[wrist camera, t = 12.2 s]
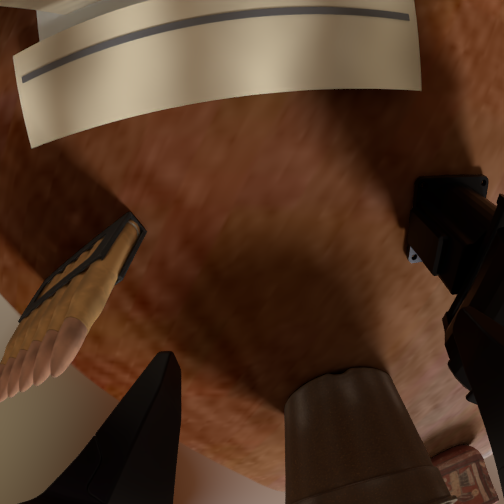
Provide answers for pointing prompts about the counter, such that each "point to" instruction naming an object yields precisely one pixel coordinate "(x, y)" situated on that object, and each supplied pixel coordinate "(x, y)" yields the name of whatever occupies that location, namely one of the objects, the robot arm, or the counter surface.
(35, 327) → the ammunition clip
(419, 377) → the counter surface
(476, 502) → the pottery
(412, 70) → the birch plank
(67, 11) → the maple block
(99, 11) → the grey end pad
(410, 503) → the plant pot
